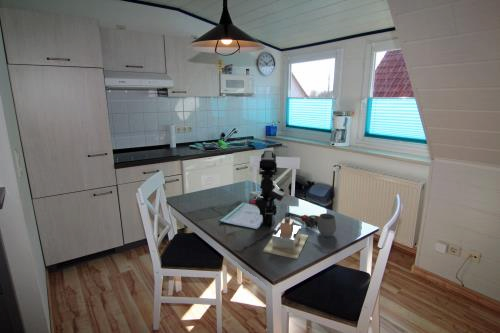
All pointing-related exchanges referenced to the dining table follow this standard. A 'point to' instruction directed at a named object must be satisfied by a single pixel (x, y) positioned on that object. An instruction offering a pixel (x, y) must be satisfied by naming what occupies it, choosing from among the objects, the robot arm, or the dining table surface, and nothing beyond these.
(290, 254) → the mounting board
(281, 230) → the brown block with knob
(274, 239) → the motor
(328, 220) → the cup
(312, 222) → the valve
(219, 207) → the dining table surface
